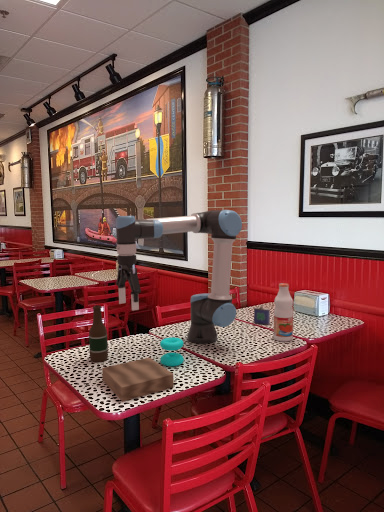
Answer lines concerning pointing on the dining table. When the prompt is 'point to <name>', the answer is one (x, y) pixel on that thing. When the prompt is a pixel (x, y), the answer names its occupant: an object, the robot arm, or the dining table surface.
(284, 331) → the fruit juice
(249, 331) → the dining table surface
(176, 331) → the dining table surface
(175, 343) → the donuts
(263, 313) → the flask
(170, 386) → the walnut stand
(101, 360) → the beer bottle
